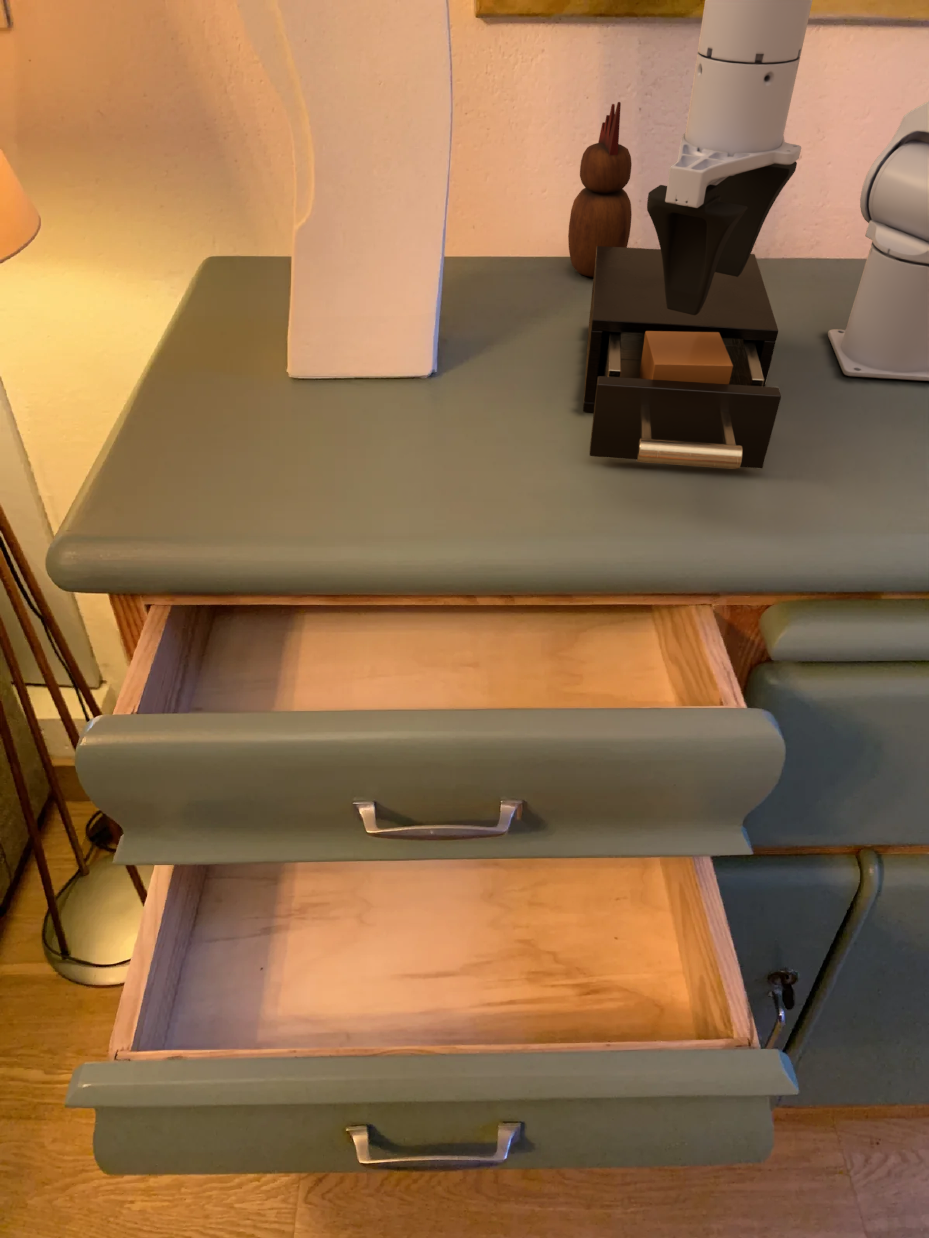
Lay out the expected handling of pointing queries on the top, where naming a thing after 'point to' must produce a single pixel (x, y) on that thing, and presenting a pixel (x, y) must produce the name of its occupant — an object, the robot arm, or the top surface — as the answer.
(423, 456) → the top surface
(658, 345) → the block
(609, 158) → the wooden figurine
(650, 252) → the dark drawer cabinet
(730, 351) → the black drawer
